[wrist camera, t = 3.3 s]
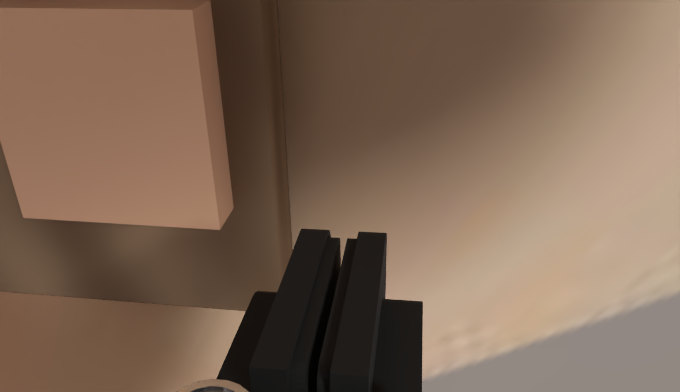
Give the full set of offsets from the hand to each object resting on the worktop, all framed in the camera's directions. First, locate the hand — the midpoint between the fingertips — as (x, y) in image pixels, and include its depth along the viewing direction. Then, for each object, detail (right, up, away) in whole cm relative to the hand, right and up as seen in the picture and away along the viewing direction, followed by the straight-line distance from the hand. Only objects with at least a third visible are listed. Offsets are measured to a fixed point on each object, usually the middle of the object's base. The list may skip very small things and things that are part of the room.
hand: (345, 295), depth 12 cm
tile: (-7, +5, +8) cm, 12 cm away
